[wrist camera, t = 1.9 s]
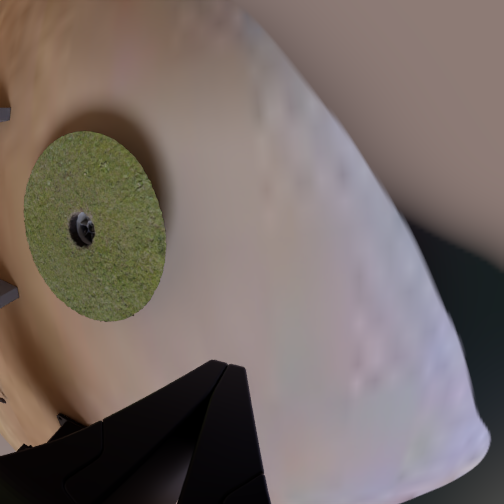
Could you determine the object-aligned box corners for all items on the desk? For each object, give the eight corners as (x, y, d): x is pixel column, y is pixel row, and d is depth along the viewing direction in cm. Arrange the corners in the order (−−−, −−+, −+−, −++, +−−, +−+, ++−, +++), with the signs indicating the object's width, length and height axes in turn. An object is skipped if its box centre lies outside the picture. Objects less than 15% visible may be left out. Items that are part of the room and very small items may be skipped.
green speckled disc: (208, 165, 15) (193, 166, 14) (156, 337, 19) (142, 353, 17) (59, 115, 16) (38, 114, 14) (37, 264, 20) (19, 273, 18)
